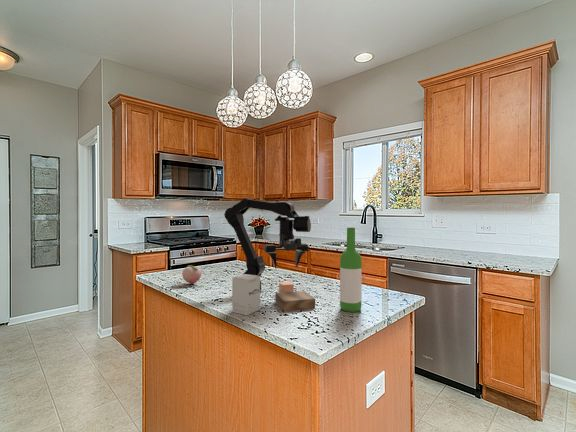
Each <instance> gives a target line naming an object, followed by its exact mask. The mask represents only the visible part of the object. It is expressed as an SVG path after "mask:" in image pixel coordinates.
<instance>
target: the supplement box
mask: <svg viewBox="0 0 576 432" xmlns="http://www.w3.org/2000/svg"><path fill="white" fill-rule="evenodd" d="M243 274H244V273H243ZM243 274H241V275H237V276H233V277H232V283H231V284H232V285H231V286H232V288H231V291H232V292H231V293H232V295H231V299H232V301H231V302H232V303H231V304H232V305H231V306H232V307H231V311H232V313H235V314H240V315H244V316H249V315H251V314H252V313H255V312H257V311H260V310H261V293H260V291H261V290H260V281H261V276H257V275H249V274H244V275H243Z"/></svg>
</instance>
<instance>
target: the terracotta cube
mask: <svg viewBox="0 0 576 432" xmlns="http://www.w3.org/2000/svg"><path fill="white" fill-rule="evenodd" d="M278 287H279V288H278V293H281V292H294V291H295V290H294V287H295V285H294V284H293V283H292V282H291V281H284V282H283V281H282V282H278Z"/></svg>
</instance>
